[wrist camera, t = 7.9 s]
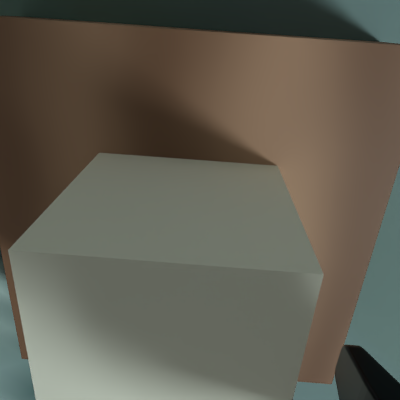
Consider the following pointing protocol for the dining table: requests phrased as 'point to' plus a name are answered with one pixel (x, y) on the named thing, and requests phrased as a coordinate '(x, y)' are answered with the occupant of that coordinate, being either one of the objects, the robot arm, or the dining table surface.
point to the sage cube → (167, 283)
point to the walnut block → (209, 131)
